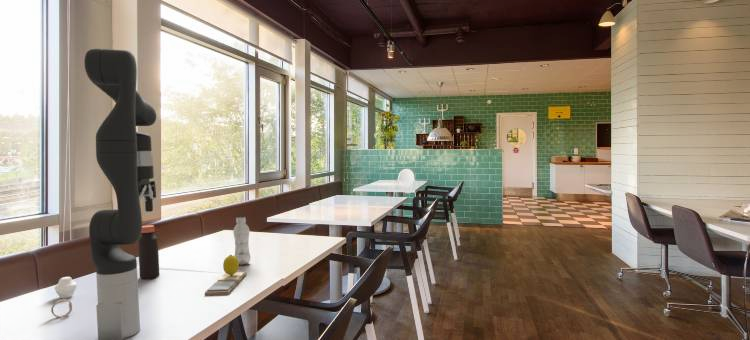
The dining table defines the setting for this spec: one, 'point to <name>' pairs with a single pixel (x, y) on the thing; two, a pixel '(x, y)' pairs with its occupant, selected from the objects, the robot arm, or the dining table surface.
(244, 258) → the plastic bottle
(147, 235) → the vinegar
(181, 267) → the dining table surface
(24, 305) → the dining table surface
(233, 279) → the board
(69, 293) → the muffin
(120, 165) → the robot arm
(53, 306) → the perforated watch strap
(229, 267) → the lemon
